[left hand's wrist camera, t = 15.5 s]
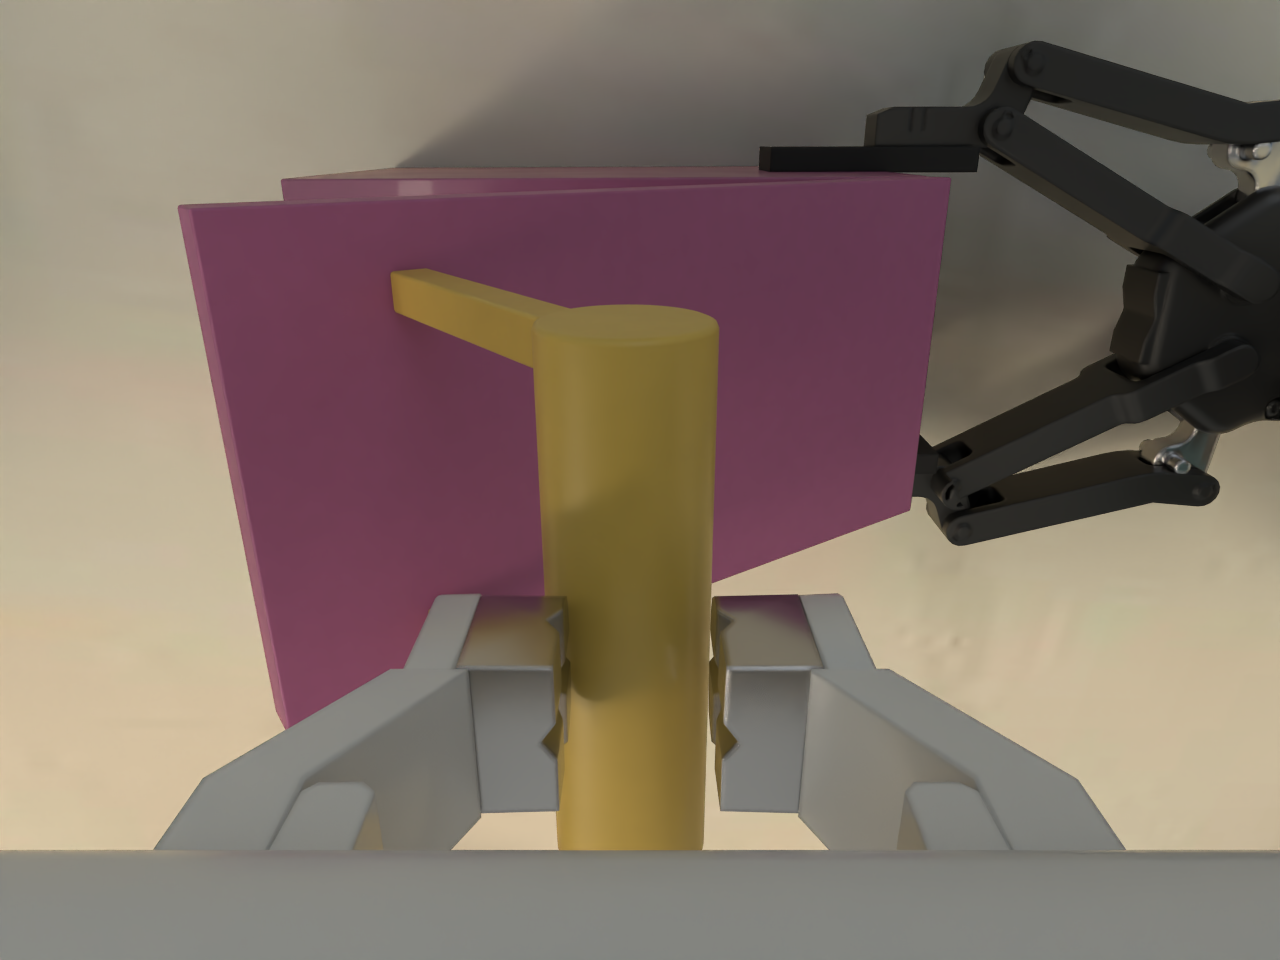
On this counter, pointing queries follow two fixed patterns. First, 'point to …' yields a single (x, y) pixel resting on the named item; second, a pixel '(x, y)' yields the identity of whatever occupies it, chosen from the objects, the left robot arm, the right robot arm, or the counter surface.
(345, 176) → the chest
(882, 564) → the counter surface
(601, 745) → the lid
